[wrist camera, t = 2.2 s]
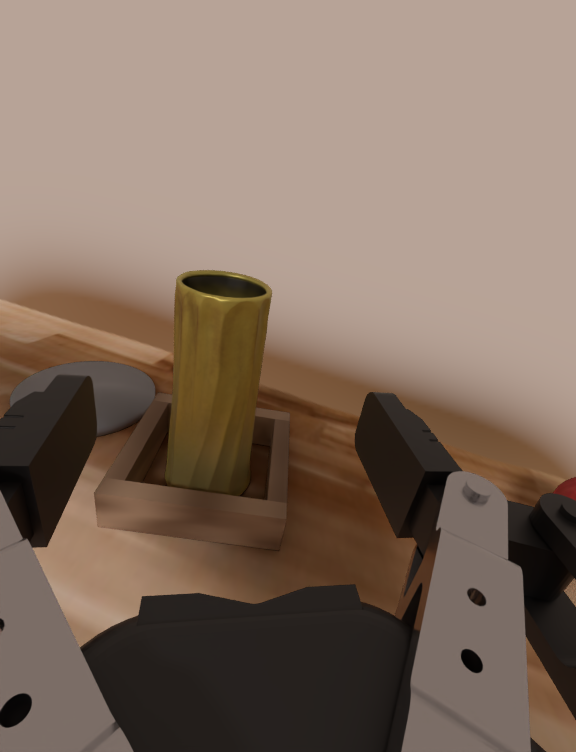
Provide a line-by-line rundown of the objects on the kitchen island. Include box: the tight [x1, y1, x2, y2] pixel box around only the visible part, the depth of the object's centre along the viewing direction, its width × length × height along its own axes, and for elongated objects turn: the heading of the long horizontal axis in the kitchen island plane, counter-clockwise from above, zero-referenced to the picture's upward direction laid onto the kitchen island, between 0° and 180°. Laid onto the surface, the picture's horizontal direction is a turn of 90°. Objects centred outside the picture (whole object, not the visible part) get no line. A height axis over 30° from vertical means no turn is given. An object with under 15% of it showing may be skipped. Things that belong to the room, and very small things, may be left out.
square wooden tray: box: [94, 392, 290, 551], centre depth 27 cm, size 11×11×3 cm
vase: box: [165, 270, 272, 496], centre depth 24 cm, size 6×6×14 cm
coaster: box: [10, 361, 155, 437], centre depth 33 cm, size 11×11×1 cm
